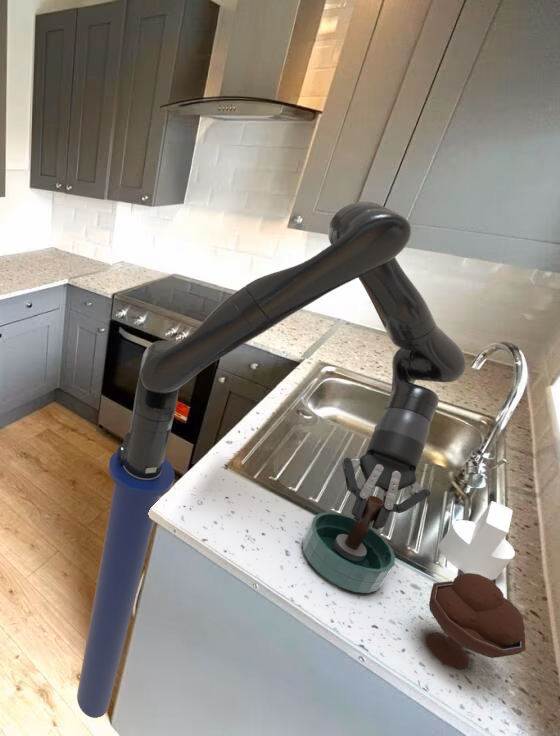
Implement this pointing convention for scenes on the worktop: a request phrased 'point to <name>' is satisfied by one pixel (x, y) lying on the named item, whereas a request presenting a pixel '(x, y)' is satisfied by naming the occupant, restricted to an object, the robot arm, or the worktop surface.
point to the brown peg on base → (358, 532)
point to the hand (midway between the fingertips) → (366, 523)
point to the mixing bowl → (339, 568)
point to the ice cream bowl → (473, 621)
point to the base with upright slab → (480, 543)
